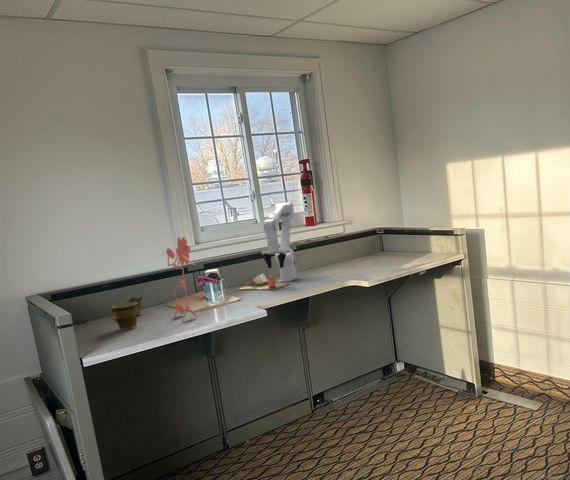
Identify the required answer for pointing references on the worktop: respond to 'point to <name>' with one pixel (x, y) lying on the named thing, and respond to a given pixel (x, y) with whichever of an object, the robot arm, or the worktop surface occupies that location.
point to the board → (261, 286)
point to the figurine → (183, 256)
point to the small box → (212, 272)
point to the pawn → (271, 282)
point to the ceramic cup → (125, 315)
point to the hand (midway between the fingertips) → (275, 267)
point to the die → (260, 279)
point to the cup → (139, 304)
